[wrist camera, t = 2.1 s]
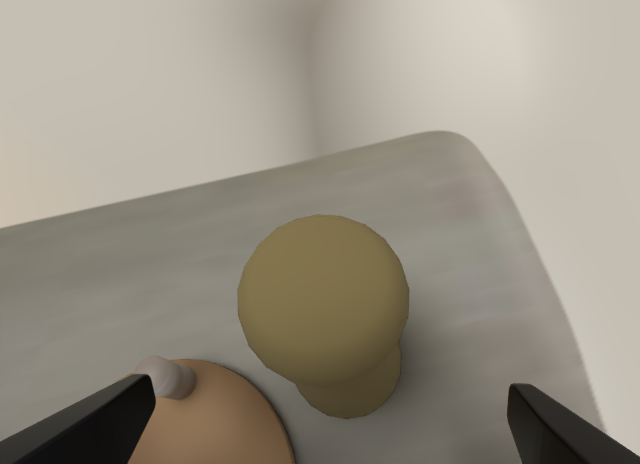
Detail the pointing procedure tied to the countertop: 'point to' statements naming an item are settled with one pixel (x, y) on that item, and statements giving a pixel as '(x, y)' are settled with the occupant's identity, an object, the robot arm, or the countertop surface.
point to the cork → (327, 312)
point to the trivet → (208, 418)
